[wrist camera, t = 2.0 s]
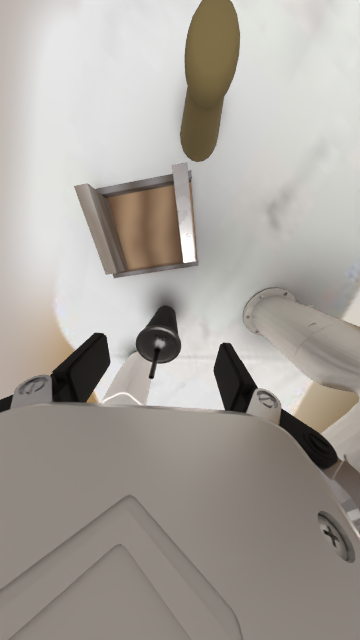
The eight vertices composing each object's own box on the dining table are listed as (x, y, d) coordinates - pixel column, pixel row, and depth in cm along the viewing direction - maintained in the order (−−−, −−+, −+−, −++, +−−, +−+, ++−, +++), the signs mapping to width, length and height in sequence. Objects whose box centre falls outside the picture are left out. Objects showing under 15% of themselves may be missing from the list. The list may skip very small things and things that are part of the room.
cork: (172, 140, 22) (166, 43, 12) (197, 92, 20) (214, -75, 10) (200, 171, 23) (215, 109, 13) (226, 130, 21) (266, 20, 11)
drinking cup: (149, 300, 33) (113, 353, 15) (180, 300, 33) (180, 352, 15) (153, 327, 37) (126, 397, 19) (181, 327, 37) (182, 396, 19)
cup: (124, 354, 41) (97, 403, 27) (143, 344, 39) (124, 390, 26) (140, 369, 43) (122, 420, 30) (158, 360, 42) (148, 410, 28)
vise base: (189, 177, 24) (193, 149, 17) (196, 265, 30) (201, 267, 23) (92, 196, 25) (62, 176, 18) (118, 276, 31) (103, 282, 25)
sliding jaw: (185, 184, 23) (187, 162, 18) (192, 260, 28) (195, 261, 23) (173, 186, 23) (172, 165, 18) (182, 261, 28) (183, 262, 23)
